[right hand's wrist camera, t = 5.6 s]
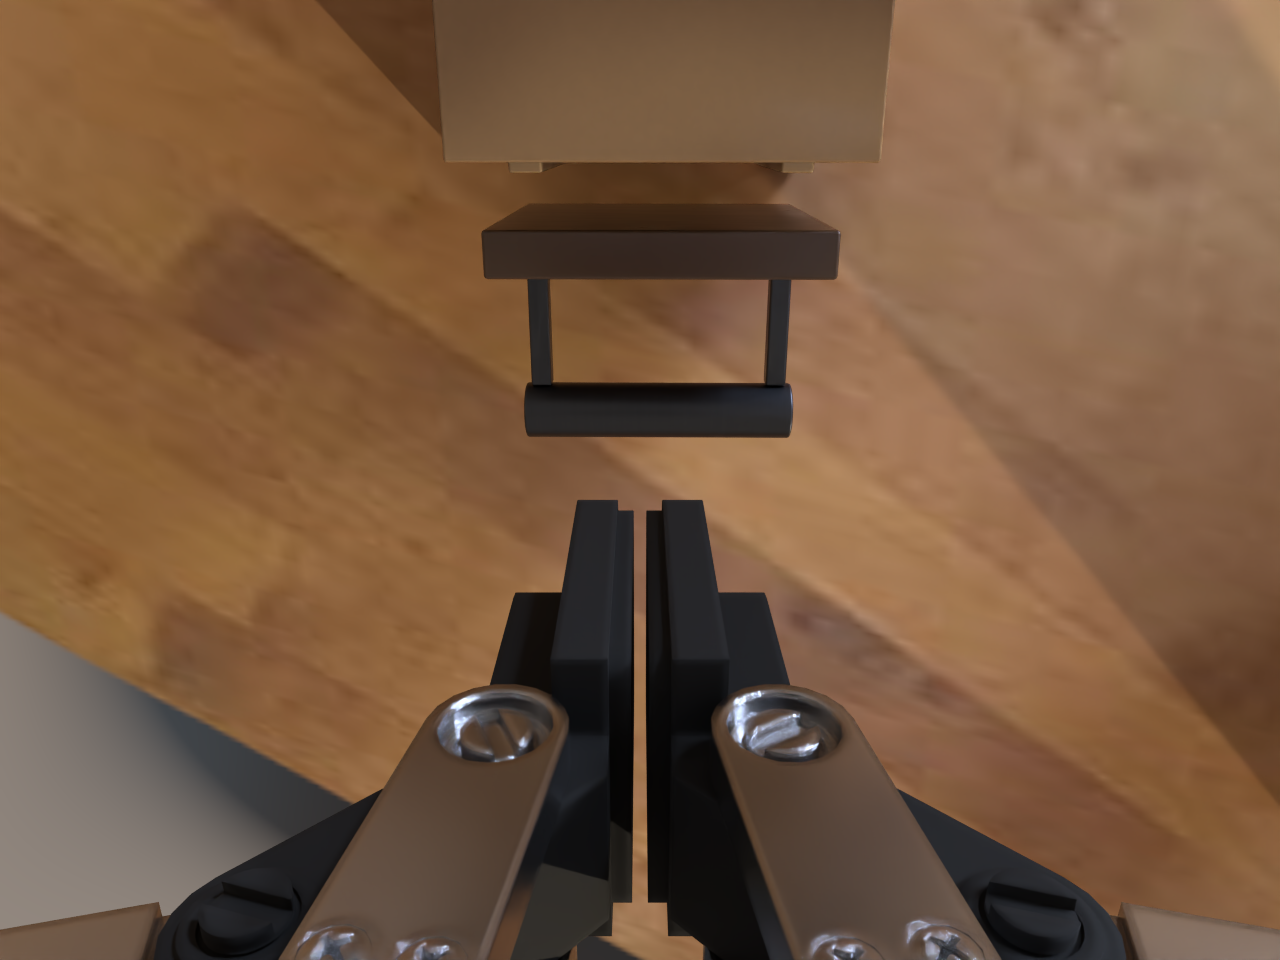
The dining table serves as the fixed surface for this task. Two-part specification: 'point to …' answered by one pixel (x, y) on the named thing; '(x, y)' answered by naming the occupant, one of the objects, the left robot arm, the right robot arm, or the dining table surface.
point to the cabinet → (663, 80)
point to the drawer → (659, 249)
